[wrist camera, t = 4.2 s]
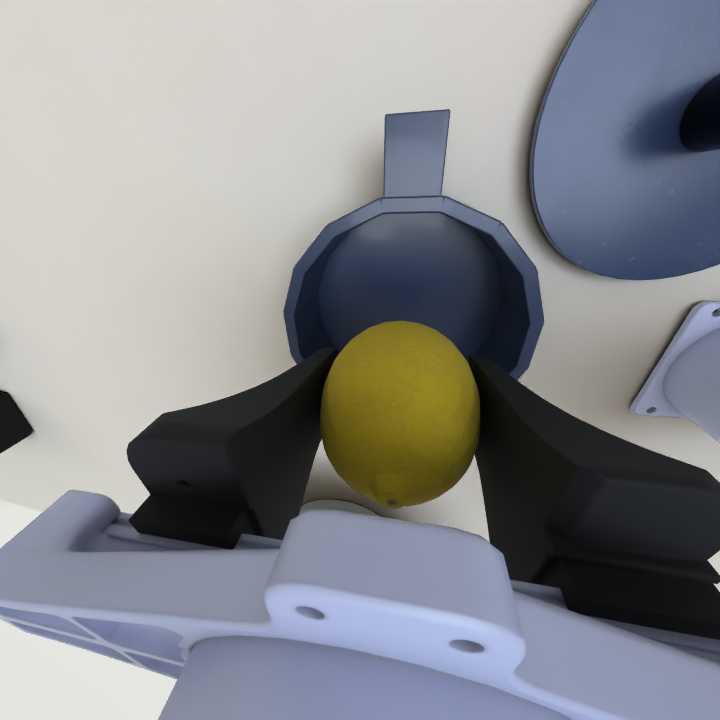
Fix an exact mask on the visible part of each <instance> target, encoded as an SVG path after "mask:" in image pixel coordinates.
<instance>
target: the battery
mask: <svg viewBox="0 0 720 720" xmlns="http://www.w3.org/2000/svg"><path fill="white" fill-rule="evenodd" d="M31 434H32V430H31V428H30V427H29V425H28V424H27V422H26V421H25V419H24V418H23V416H22V415H21V413H20V412H19V410H18V409H17V407H16V406H15V404H14V403H13V401H12V400H11V398H10V397H9V395H8V394H7V393H3V392H0V453H2V452H4V451H5V450H7V449H8V448H10V447H12V446H13V445H15V444H16V443H18V442H20V441H21V440H23V439H24V438H26V437H28V436H29V435H31Z"/></svg>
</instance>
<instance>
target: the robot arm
mask: <svg viewBox="0 0 720 720" xmlns="http://www.w3.org/2000/svg"><path fill="white" fill-rule="evenodd" d="M716 309H717V311H716V312H715V313H713V314H712V312H713V311H714V310H716ZM337 356H338V348H331V347H324V348H322V349H320V350H319V351H317V352H316V353H314V354H313V355H311V356H310V357H308V358H307V359H305V360H303V361H302V362H300V363H299V364H297V365H296V366H294V367H292V368H291V369H289V370H287V371H286V372H284V373H282V374H280V375H279V376H277V377H275V378H273V379H271V380H269V381H267V382H265V383H263V384H261V385H259V386H256V387H254V388H251V389H249V390H246V391H243V392H241V393H238V394H236V395H233V396H230V397H227V398H224V399H221V400H217V401H214V402H210V403H207V404H203V405H199V406H195V407H191V408H186V409H182V410H177V411H173V412H168V413H163V414H162V415H161V416H159V417H158V418H157V419H156V420H155V421H154V422H153V423H151V424H150V425H149V426H148V427H147V428H146V429H145V430H144V431H142V432H141V433H140V434H139V435H138V436H137V437H136V438H134V439H133V440H132V441H131V442H130V443H129V444H128V448H127V456H128V461H129V463H130V465H131V467H132V468H133V470H134V471H135V473H136V474H137V476H138V477H139V478H140V480H141V481H142V483H143V484H144V486H145V487H146V489H147V490H148V491H149V493H150V494H151V495H150V496H149V497H148V498H147V499H146V500H145V502H144V503H143V504H142V505H141V506H140V507H139V508H138V510H137V511H136V512H135V513H134V514H128V513H122V512H120V509H119V507H118V505H117V504H116V503H115V502H114V501H113V500H112V499H111V498H109V497H107V496H105V495H102V494H97V493H91V492H85V491H79V490H69V491H67V492H66V493H65V494H64V495H63V496H62V497H60V498H59V499H58V500H57V501H56V502H55V503H53V504H52V505H51V506H50V507H49V508H47V509H46V510H45V511H44V512H43V513H42V514H40V515H39V516H38V517H37V518H36V519H35V520H33V521H32V522H31V523H30V524H29V525H28V526H26V527H25V528H24V529H23V530H22V531H20V532H19V533H18V534H17V535H16V536H15V537H14V538H12V539H11V540H10V541H9V542H8V543H6V544H5V545H4V546H3V547H2V548H0V619H2V620H4V621H6V622H8V623H9V624H11V625H13V626H15V627H17V628H19V629H21V630H23V631H25V632H27V633H31V634H35V635H38V636H41V637H45V638H49V639H52V640H56V641H59V642H62V643H66V644H69V645H73V646H76V647H79V648H82V649H86V650H89V651H92V652H95V653H98V654H101V655H104V656H107V657H110V658H113V659H116V660H120V661H123V662H126V663H129V664H132V665H135V666H138V667H141V668H144V669H147V670H150V671H153V672H156V673H159V674H162V675H165V676H168V677H171V678H174V679H177V682H176V684H175V686H174V688H173V690H172V692H171V694H170V696H169V698H168V700H167V702H166V704H165V706H164V708H163V710H162V713H161V715H160V717H159V719H158V720H720V592H719V591H718V589H717V588H716V587H715V586H714V584H713V583H715V584H718V583H719V582H720V575H719V574H718V573H717V572H716V570H715V569H714V568H713V567H712V565H711V564H710V563H709V562H708V561H707V560H708V559H709V558H710V557H712V556H713V555H714V554H716V553H717V552H718V551H720V483H719V482H718V481H717V480H716V479H715V478H714V477H713V476H712V475H711V474H710V473H709V472H708V471H706V470H704V469H702V468H699V467H696V466H693V465H690V464H687V463H685V462H682V461H679V460H676V459H673V458H670V457H668V456H665V455H662V454H659V453H656V452H653V451H651V450H648V449H645V448H643V447H640V446H638V445H636V444H633V443H631V442H628V441H626V440H623V439H621V438H618V437H616V436H614V435H612V434H609V433H607V432H605V431H603V430H600V429H598V428H596V427H594V426H592V425H590V424H588V423H586V422H584V421H582V420H580V419H578V418H576V417H574V416H572V415H570V414H568V413H566V412H565V411H563V410H561V409H560V408H558V407H556V406H554V405H553V404H551V403H549V402H548V401H546V400H544V399H543V398H541V397H540V396H538V395H537V394H535V393H534V392H532V391H531V390H529V389H528V388H526V387H525V386H524V385H522V384H521V383H520V382H518V381H517V380H515V379H514V378H513V377H512V376H510V375H509V374H508V373H506V372H505V371H504V370H503V369H501V368H500V367H499V366H498V365H496V364H495V363H494V362H492V361H491V360H490V359H488V358H487V357H485V356H473V355H469V359H468V364H469V366H470V369H471V371H472V374H473V377H474V379H475V382H476V384H477V387H478V391H479V398H480V435H479V441H478V445H477V448H476V451H475V457H476V461H477V465H478V469H479V473H480V479H481V485H482V491H483V497H484V504H485V510H486V517H487V524H488V531H489V539H490V543H489V542H488V541H486V540H485V539H484V538H483V537H481V536H479V535H476V534H473V533H470V532H466V531H463V530H460V529H456V528H452V527H445V526H438V525H432V524H425V523H418V522H412V521H405V520H398V519H392V518H385V517H378V516H372V515H365V514H358V513H352V512H345V511H338V510H309V511H307V512H305V513H303V514H301V515H299V513H300V509H301V505H302V501H303V497H304V494H305V490H306V486H307V483H308V479H309V475H310V472H311V468H312V465H313V462H314V458H315V455H316V452H317V449H318V446H319V444H320V441H321V439H322V436H321V430H320V412H321V401H322V393H323V388H324V384H325V381H326V378H327V376H328V374H329V371H330V369H331V367H332V365H333V362H334V361H335V359H336V357H337ZM650 407H651V408H650ZM648 408H649V409H648ZM631 410H632V411H633V412H634V413H635V414H639V415H651V416H664V417H677V418H689V419H690V420H691V421H693V422H694V423H695V424H696V425H698V426H699V427H700V428H702V429H703V430H704V431H705V432H707V433H708V434H709V435H710V436H712V437H713V438H714V439H715V440H717V441H718V442H719V443H720V302H708V301H707V302H702V303H699V304H697V305H696V306H694V307H693V309H692V310H691V311H690V313H689V314H688V316H687V318H686V319H685V321H684V322H683V324H682V326H681V327H680V329H679V330H678V332H677V333H676V335H675V337H674V338H673V340H672V341H671V343H670V345H669V346H668V348H667V349H666V351H665V353H664V354H663V356H662V357H661V359H660V360H659V362H658V364H657V365H656V367H655V368H654V370H653V372H652V373H651V375H650V376H649V378H648V380H647V381H646V383H645V384H644V386H643V388H642V389H641V391H640V392H639V394H638V395H637V397H636V399H635V400H634V402H633V403H632V405H631Z"/></svg>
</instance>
